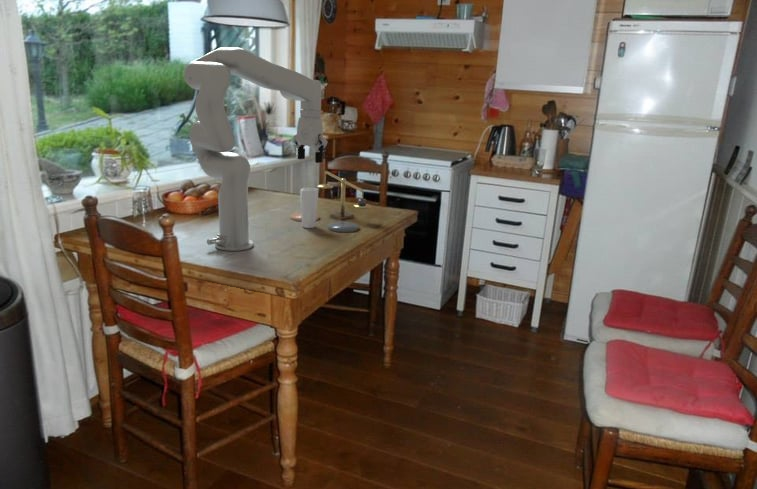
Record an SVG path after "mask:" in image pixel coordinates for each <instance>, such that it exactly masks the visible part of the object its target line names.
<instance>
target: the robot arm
mask: <svg viewBox="0 0 757 489" xmlns="http://www.w3.org/2000/svg"><path fill="white" fill-rule="evenodd" d="M232 76H236V77H238V78H241V79H243V80H246V81H247V82H250V83H252V84H254V85H257V86H258V87H261V88H263V89H266V90H272V91H279V93H280V95H281V96H282V97H283V98H284V99H286V100H289V101H296V102H297V101H300V109H299V110H300V111H299V113H300V116H299V117H298V120H297V128H296V134H295V135H294V136H293V140H294V143H295V145H296V149H297V160H305V159H306V148H305V147H306V146H307V147H314V149H315V154H314V156H315V159H314V160H315V164H317V163H318V164H321V163H323V162H324V161H323V159H324V158H323V157H324V152H325V149H326V148H327V145H328V143H329V142H328V140H327V139H326V138H325V137H324V132H323V131H324V130H323V128H324V127H323V120H322V117H321V116H322V115H321V114H322V82H321V81H320V80H317V79H312V78H310V77H308V76H306V75H304V74H302V73H300V72H297V71H295V70H292V69H289V68H286V67H283V66H281V65H279V64H275V63H273V62H271V61H268V60H266V59H264V58H263V57H262V56H259V55H257V54H255V53H253V52H251V51H249V50H247V49H244V48H242V47H227V46H225V47H218V48H217V49H215V50H212V51H210V52H208V53H206V54H205V55H202V56H201V57H198V58H196V59H194V60H192V61H190V62H189V63H188V64H187V65H186V67H185V68H184V72H183V79H184V82H185V83H186V84H187V85H188V86H189V88H192V89H193V90H197V91H198V93H197V95H196V99H195V105H194V107H195V108H194V110H195V113H196V116H197V119H198V120H197V121H195V122H193V123H192V126H191V127H190V130H189V141H190V144H191V146H192V149H193V151H194V154H195V156H196V158H197V160H198V164H199V165H200V168H201V169H202V171H203V172H204V174H206V175H207V176H208V177H209V178H213V179H215V180H216V179H217V180H220V181H221V184H220V186H219V188H218V199H217V200H218V219H219V220H218V224H219V227H218V228H219V233H216V236H214V237H212V238H208V239H207V240H206V244H207V245H208V246H210V245H215V248H216V249H218V250H221V251H224V252H225V251H226V252H239V251H241V252H242V251H246V250H249V249H251V248H252V247H254V241H253V240H252V239H250V238H249V237H250V236H249V235H250V234H249V231H250V230H249V197H248V196H249V194H248V193H249V192H248V191H249V180H250V176H251V164H250V162H249V161H248V158H247V157H245V156H244V155H242V154H239V153H236V152H231V151H232V150H233V149H234V148H235V145H236V137H235V134H234V131H233V128H232V125H231V123H230V121H229V118H228V115H227V113H226V109H225V105H224V104H225V100H224V99H225V96H226V93H227V92H228V90H229V87H230V85H231V82H232Z"/></svg>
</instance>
